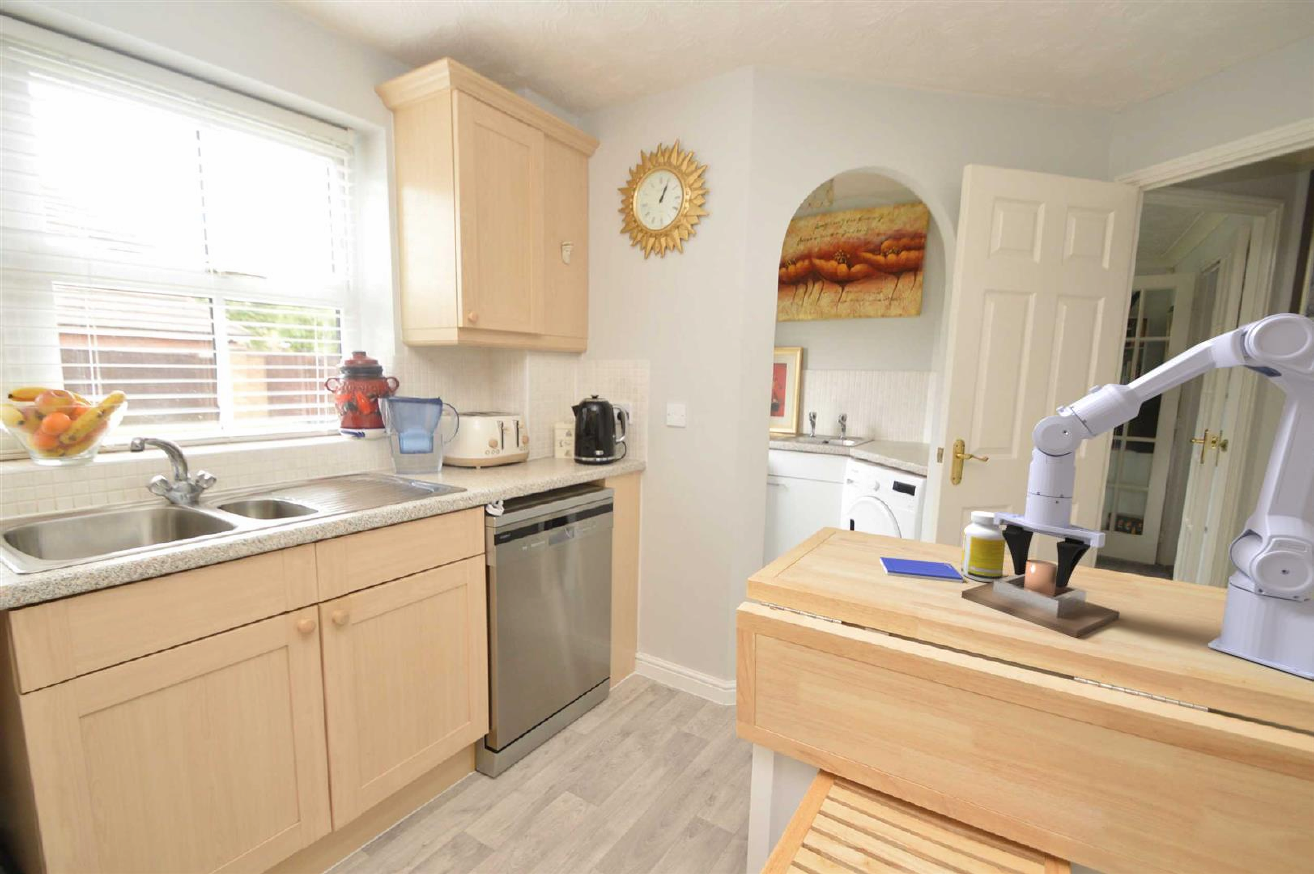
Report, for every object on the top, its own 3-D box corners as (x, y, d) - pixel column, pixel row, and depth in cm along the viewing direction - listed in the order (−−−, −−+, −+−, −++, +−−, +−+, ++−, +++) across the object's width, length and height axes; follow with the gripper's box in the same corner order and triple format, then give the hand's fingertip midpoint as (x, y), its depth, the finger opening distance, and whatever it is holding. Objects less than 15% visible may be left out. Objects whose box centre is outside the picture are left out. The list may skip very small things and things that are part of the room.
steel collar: (1084, 606, 85) (1086, 590, 85) (1056, 617, 81) (1058, 601, 80) (1021, 586, 93) (1023, 572, 93) (992, 596, 88) (994, 580, 88)
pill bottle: (1007, 585, 96) (1014, 519, 95) (967, 581, 98) (973, 516, 96) (993, 572, 103) (999, 511, 101) (955, 569, 104) (960, 508, 103)
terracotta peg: (1058, 603, 86) (1062, 565, 85) (1046, 607, 84) (1049, 568, 83) (1030, 594, 89) (1034, 558, 89) (1017, 598, 87) (1021, 561, 87)
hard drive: (949, 562, 105) (879, 555, 107) (963, 577, 97) (887, 569, 99) (948, 570, 105) (879, 563, 107) (962, 585, 97) (887, 577, 99)
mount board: (1118, 618, 84) (1119, 611, 84) (1075, 637, 76) (1076, 630, 76) (1006, 583, 97) (1007, 577, 97) (961, 597, 90) (962, 591, 90)
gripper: (1118, 501, 81) (1107, 591, 82) (1012, 484, 93) (1004, 562, 95) (1097, 505, 77) (1086, 599, 79) (990, 486, 89) (982, 568, 91)
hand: (1040, 579), depth 86 cm, fingers open, 5 cm apart
